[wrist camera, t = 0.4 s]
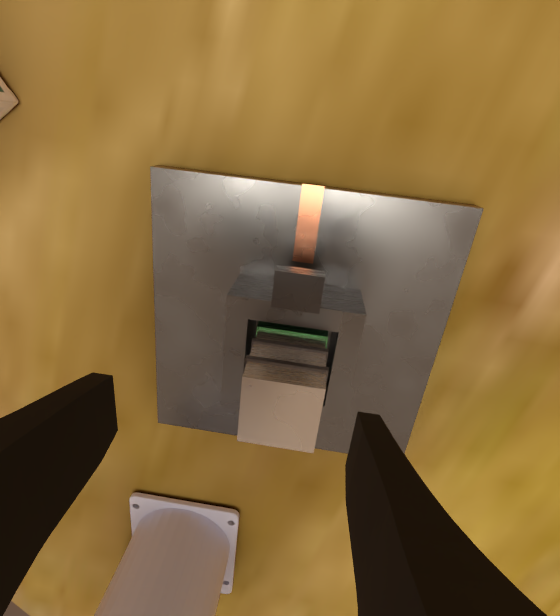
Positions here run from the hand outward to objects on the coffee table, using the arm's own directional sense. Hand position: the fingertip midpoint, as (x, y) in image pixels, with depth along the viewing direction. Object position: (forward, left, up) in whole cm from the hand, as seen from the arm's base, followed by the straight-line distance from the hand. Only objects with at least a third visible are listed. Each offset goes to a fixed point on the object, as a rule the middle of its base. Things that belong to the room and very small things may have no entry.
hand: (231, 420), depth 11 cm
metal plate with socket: (-2, -1, -10) cm, 10 cm away
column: (-2, -1, -9) cm, 9 cm away
